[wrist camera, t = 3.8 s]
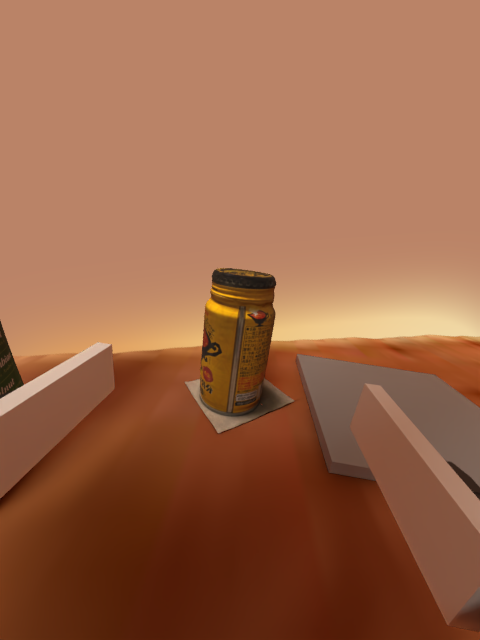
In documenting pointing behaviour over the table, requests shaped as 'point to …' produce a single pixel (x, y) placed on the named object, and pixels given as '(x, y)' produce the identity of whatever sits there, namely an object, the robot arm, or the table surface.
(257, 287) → the condiment
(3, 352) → the coffee jar
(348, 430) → the plain gray board
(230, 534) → the table surface
